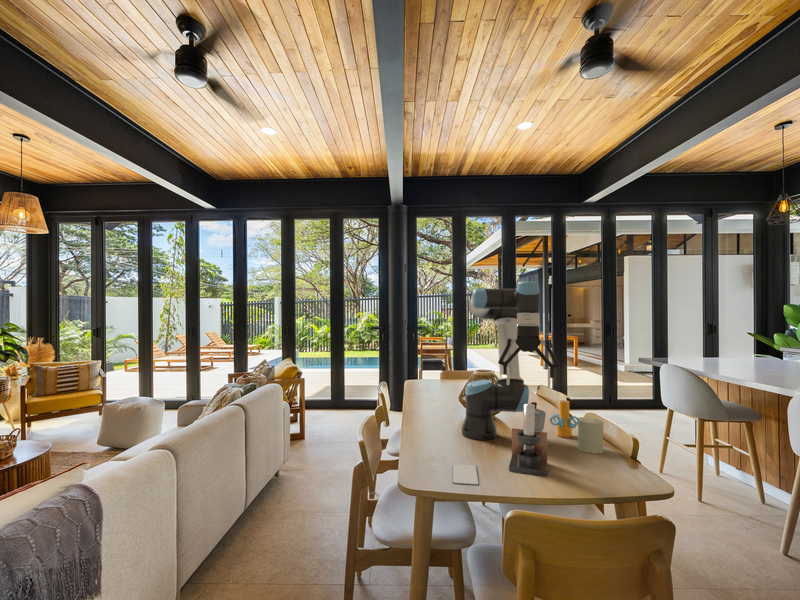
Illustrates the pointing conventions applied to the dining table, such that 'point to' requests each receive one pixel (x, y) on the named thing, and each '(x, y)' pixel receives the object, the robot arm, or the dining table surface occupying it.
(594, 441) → the can
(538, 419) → the coffee maker
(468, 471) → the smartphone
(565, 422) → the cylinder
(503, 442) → the dining table surface
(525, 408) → the silver metal tube
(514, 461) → the collar stand
